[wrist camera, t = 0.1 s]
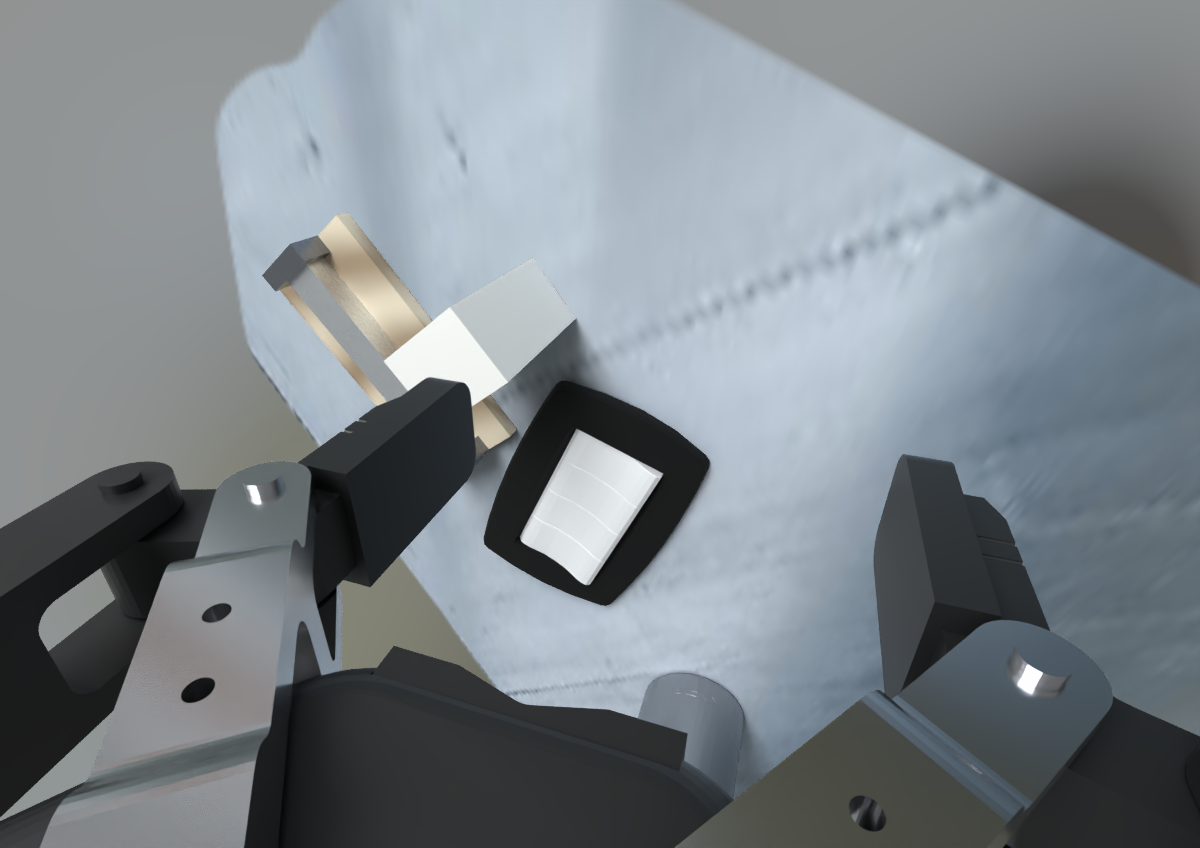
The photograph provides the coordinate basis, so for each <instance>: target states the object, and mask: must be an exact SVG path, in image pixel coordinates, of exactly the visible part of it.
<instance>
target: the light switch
mask: <svg viewBox="0 0 1200 848" xmlns="http://www.w3.org/2000/svg"><path fill="white" fill-rule="evenodd" d="M708 467H709V459H708V457H707V456H706V455H705V454H704V453H703V452H701V451H700V450H699V449H698V448H697V447H695V446H694V445H693V444H692V443H691V442H689V441H688V440H687V439H686V438H685V437H683V436H682V435H681V434H680V433H679V432H677V431H676V430H674V429H673V428H671V427H669V426H668V425H666V424H664V423H663V422H661V421H659V420H658V419H656V418H655V417H653V416H651V415H650V414H648V413H646V412H645V411H643V410H641V409H639V408H636V407H634V406H632V405H630V404H627V403H625V402H623V401H621V400H618V399H616V398H614V397H612V396H609V395H607V394H605V393H602V392H599V391H596V390H592V389H589V388H586V387H583V386H580V385H577V384H574V383H571V382H568V381H560V382H559V383H558V384H556V386H555V387H554V389H553V390H552V391H551V393H550V394H549V396H548V397H547V399H546V400H545V402H544V403H543V404H542V406H541V407H540V409H539V411H538V412H537V414H536V416H535V417H534V419H533V421H532V422H531V424H530V426H529V427H528V429H527V431H526V433H525V434H524V436H523V438H522V440H521V442H520V444H519V446H518V448H517V449H516V451H515V453H514V455H513V457H512V459H511V461H510V463H509V466H508V468H507V470H506V473H505V475H504V477H503V480H502V482H501V485H500V487H499V489H498V492H497V495H496V498H495V501H494V504H493V507H492V510H491V513H490V515H489V519H488V523H487V527H486V531H485V535H484V544H485V545H486V546H487V547H488V548H489V549H490V550H492V551H493V552H495V553H496V554H498V555H499V556H500V557H502V558H503V559H505V560H506V561H508V562H509V563H511V564H512V565H514V566H515V567H517V568H519V569H521V570H522V571H524V572H526V573H528V574H529V575H531V576H533V577H535V578H536V579H538V580H540V581H542V582H544V583H546V584H548V585H551V586H553V587H555V588H557V589H560V590H562V591H564V592H566V593H569V594H571V595H574V596H576V597H579V598H582V599H585V600H588V601H591V602H593V603H596V604H599V605H604V606H606V605H609V604H611V603H612V602H613V601H614V600H615V599H616V598H617V597H618V596H619V595H620V594H621V593H622V592H623V591H624V590H625V589H626V588H627V587H628V586H629V585H630V584H631V583H632V582H633V581H634V580H635V578H636V577H637V576H638V575H639V574H640V573H641V572H642V571H643V570H644V568H645V567H646V566H647V565H648V564H649V562H650V561H651V560H652V559H653V557H654V556H655V555H656V553H657V552H658V551H659V550H660V548H661V547H662V546H663V545H664V543H665V542H666V540H667V539H668V537H669V536H670V534H671V533H672V531H673V530H674V528H675V527H676V525H677V524H678V522H679V521H680V519H681V517H682V516H683V514H684V512H685V511H686V509H687V507H688V506H689V504H690V502H691V500H692V499H693V497H694V495H695V494H696V492H697V490H698V488H699V486H700V484H701V482H702V480H703V478H704V476H705V474H706V472H707V470H708Z"/></svg>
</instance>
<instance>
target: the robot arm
mask: <svg viewBox="0 0 1200 848" xmlns="http://www.w3.org/2000/svg"><path fill="white" fill-rule="evenodd" d="M475 458H476V446H475V436H474V425H473V414H472V403H471V394H470V390H469V388H468V386H467V385H466V384H465V383H463V382H457V381H451V380H445V379H439V378H433V377H428V378H426V379H424V380H423V381H421V382H420V383H418V384H417V385H416V386H414V387H413V388H412V389H410V390H409V391H408V392H406V393H405V394H404V395H402V396H401V397H398V398H395V399H393V400H390V401H388V402H385V403H383V404H380V405H378V406H376V407H375V408H373V409H372V410H370V411H369V412H368V413H366V414H365V415H363V416H362V417H361V418H359V422H358V421H355V422H354V423H352V424H351V425H350V426H348V427H347V428H345V431H344V432H340V433H338V434H337V435H336V436H334V437H333V438H331V439H330V440H329V441H327V442H326V443H325V444H323V445H322V446H320V447H319V448H318V449H316V450H315V451H313V452H312V453H311V454H309V455H308V456H306V457H305V458H304V459H302V460H301V461H300V462H298V463H296V462H290V461H274V462H267V463H261V464H257V465H254V466H251V467H248V468H245V469H243V470H240V471H238V472H236V473H235V474H233V475H231V476H230V477H228V478H227V479H225V480H224V481H223V482H222V483H221V484H220V485H219V487H218V488H217V489H215V490H214V489H212V490H211V489H209V490H208V489H207V490H180V488H179V485H178V483H177V480H176V477H175V474H174V472H173V470H172V468H171V467H170V466H168V465H166V464H163V463H159V462H136V463H129V464H125V465H121V466H117V467H113V468H110V469H108V470H105V471H102V472H100V473H98V474H95V475H93V476H91V477H90V478H88V479H86V480H84V481H82V482H81V483H79V484H77V485H75V486H74V487H72V488H70V489H68V490H67V491H65V492H63V493H62V494H60V495H58V496H56V497H55V498H53V499H51V500H49V501H48V502H46V503H44V504H43V505H41V506H39V507H37V508H35V509H34V510H32V511H30V512H28V513H27V514H25V515H23V516H22V517H20V518H18V519H16V520H15V521H13V522H11V523H9V524H8V525H6V526H4V527H2V528H1V529H0V817H1V816H2V815H3V814H4V813H5V812H6V811H7V810H8V809H10V808H11V807H12V806H13V805H14V804H15V803H16V802H17V801H18V800H19V799H20V798H21V797H22V796H23V795H24V794H25V793H26V792H28V790H30V789H31V788H32V787H33V786H34V785H35V784H36V783H37V782H38V781H39V780H40V779H41V778H42V777H43V776H44V775H45V774H46V773H48V772H49V771H50V770H51V769H52V768H53V767H54V766H55V765H56V764H57V763H58V762H59V761H60V760H61V759H63V758H64V757H65V756H66V755H67V754H68V753H69V752H70V751H71V750H72V749H73V748H74V747H75V746H76V745H77V744H78V743H79V742H81V741H82V740H83V739H84V737H86V736H87V735H88V734H89V733H90V732H91V731H92V730H93V729H94V728H95V727H96V726H97V725H99V723H101V722H102V721H103V720H104V719H105V718H106V717H107V716H108V715H109V714H110V713H111V712H112V711H113V710H114V711H113V714H112V716H111V719H110V722H109V725H108V727H107V730H106V733H105V736H104V738H103V741H102V744H101V747H100V749H99V752H98V755H97V757H96V760H95V763H94V766H93V768H92V771H91V773H90V775H89V777H88V779H87V780H86V781H85V782H84V783H81V784H80V785H77V786H75V787H73V788H71V789H69V790H66V791H64V792H62V793H60V794H58V795H56V796H54V797H51V798H49V799H47V800H45V801H43V802H40V803H38V804H36V805H34V806H32V807H30V808H28V809H26V810H23V811H21V812H19V813H17V814H15V815H13V816H10V817H8V818H6V819H4V820H2V821H0V848H1200V736H1197V735H1195V734H1193V733H1191V732H1188V731H1186V730H1184V729H1182V728H1179V727H1177V726H1175V725H1173V724H1170V723H1168V722H1166V721H1164V720H1161V719H1159V718H1157V717H1155V716H1152V715H1150V714H1148V713H1146V712H1143V711H1141V710H1139V709H1137V708H1134V707H1132V706H1130V705H1128V704H1126V703H1124V702H1122V701H1120V700H1118V699H1116V698H1115V697H1113V693H1112V688H1111V685H1110V683H1109V680H1108V679H1107V677H1106V676H1105V674H1104V672H1103V671H1102V670H1101V669H1100V667H1099V666H1098V665H1097V664H1096V663H1095V662H1094V661H1093V660H1092V659H1091V658H1090V657H1089V656H1088V655H1087V654H1086V653H1085V652H1083V651H1082V650H1081V649H1079V648H1078V647H1077V646H1075V645H1074V644H1072V643H1071V642H1069V641H1068V640H1066V639H1064V638H1062V637H1061V636H1059V635H1057V634H1055V633H1053V632H1051V631H1050V629H1049V627H1048V624H1047V622H1046V619H1045V617H1044V614H1043V611H1042V609H1041V606H1040V604H1039V601H1038V599H1037V596H1036V594H1035V591H1034V589H1033V586H1032V584H1031V581H1030V579H1029V576H1028V574H1027V571H1026V569H1025V566H1022V562H1023V561H1022V559H1021V556H1020V553H1019V551H1018V548H1017V547H1015V541H1014V538H1013V536H1012V533H1011V531H1010V528H1009V526H1008V523H1007V521H1006V519H1005V518H1004V517H1003V516H1002V515H1001V514H1000V513H999V512H998V511H997V510H996V509H995V508H994V507H993V506H992V505H990V504H989V503H988V502H987V501H986V500H985V499H984V498H981V497H975V496H970V495H964V494H963V492H962V489H961V485H960V482H959V479H958V476H957V473H956V470H955V467H954V464H953V463H952V462H948V461H942V460H936V459H930V458H924V457H918V456H911V455H905V454H903V455H902V456H901V457H900V459H899V461H898V464H897V467H896V470H895V473H894V476H893V480H892V483H891V487H890V490H889V493H888V497H887V500H886V503H885V507H884V510H883V514H882V517H881V520H880V524H879V527H878V531H877V535H876V541H875V548H874V574H875V586H876V597H877V609H878V620H879V632H880V643H881V654H882V666H883V677H884V689H885V693H883V692H882V691H880V690H875V691H872V692H870V693H868V694H867V695H865V696H864V697H862V698H861V699H860V700H858V701H857V702H856V703H855V704H853V705H852V706H851V707H850V708H848V709H847V710H846V711H845V712H843V713H842V714H841V715H840V716H838V717H837V718H836V719H835V720H833V721H832V722H831V723H830V724H828V725H827V726H826V727H825V728H823V729H822V730H821V731H820V732H818V733H817V734H816V735H815V736H813V737H812V738H811V739H810V740H808V741H807V742H806V743H805V744H803V745H802V746H801V747H800V748H798V749H797V750H796V751H795V752H793V753H792V754H791V755H790V756H788V757H787V758H786V759H785V760H783V761H782V762H781V763H780V764H778V765H777V766H776V767H775V768H773V769H772V770H771V771H770V772H768V773H767V774H766V775H765V776H763V777H762V778H761V779H760V780H758V781H757V782H756V783H755V784H753V785H752V786H751V787H750V788H748V789H747V790H746V791H745V792H743V793H742V794H741V795H740V796H738V797H737V798H736V799H735V800H734V799H733V796H734V789H735V781H736V774H737V767H738V761H739V754H740V746H741V739H742V732H743V724H744V717H743V712H742V709H741V707H740V705H739V704H738V702H737V701H736V699H735V698H734V697H733V696H732V695H731V694H730V693H729V692H728V691H727V690H725V689H724V688H723V687H721V686H720V685H718V684H716V683H714V682H712V681H710V680H708V679H705V678H703V677H700V676H696V675H691V674H681V673H676V674H668V675H664V676H661V677H659V678H657V679H655V680H654V681H653V682H652V683H651V684H650V685H649V686H648V688H647V690H646V693H645V696H644V700H643V703H642V706H641V709H640V713H639V716H638V718H635V717H631V716H628V715H624V714H621V713H618V712H614V711H611V710H606V709H588V708H570V707H553V706H535V705H526V704H522V703H519V702H517V701H515V700H514V699H512V698H511V697H509V696H507V695H506V694H504V693H503V692H501V691H499V690H498V689H496V688H495V687H493V686H491V685H490V684H488V683H487V682H485V681H483V680H482V679H480V678H479V677H477V676H475V675H474V674H472V673H471V672H469V671H467V670H465V669H464V668H463V667H461V666H459V665H456V664H453V663H450V662H446V661H443V660H439V659H436V658H433V657H429V656H426V655H423V654H419V653H416V652H413V651H409V650H406V649H402V648H399V647H396V646H393V648H392V649H391V650H390V652H389V653H388V654H387V656H386V657H385V658H384V659H383V661H382V662H381V663H380V665H379V666H378V667H377V668H363V669H351V670H344V671H342V668H341V667H342V666H341V665H342V664H341V663H342V597H341V593H340V589H339V583H341V581H342V580H346V581H350V582H353V583H357V584H361V585H364V586H368V587H371V586H372V585H373V584H374V583H375V581H376V580H377V579H378V578H379V577H380V576H381V575H382V574H383V573H384V571H385V570H386V569H387V568H388V567H389V566H390V565H391V564H392V563H393V562H394V560H395V559H396V558H397V557H398V556H399V555H400V554H401V553H402V552H403V551H404V549H405V548H406V547H407V546H408V545H409V544H410V543H411V542H412V541H413V540H414V538H415V537H416V536H417V535H418V534H419V533H420V532H421V531H422V530H423V529H424V527H425V526H426V525H427V524H428V523H429V522H430V521H431V520H432V519H433V517H434V516H435V515H436V514H437V513H438V512H439V511H440V510H441V509H442V508H443V506H444V505H445V504H446V503H447V502H448V501H449V500H450V499H451V498H452V497H453V495H454V494H455V493H456V492H457V491H458V490H459V489H460V488H461V487H462V485H463V484H464V483H465V482H466V481H467V480H468V478H469V477H470V475H471V473H472V470H473V467H474V464H475ZM100 568H101V571H102V572H103V575H104V577H105V579H106V581H107V583H108V585H109V587H110V589H111V591H112V593H113V595H114V597H115V600H114V601H113V602H112V603H110V604H109V605H107V606H106V607H105V608H104V609H102V610H101V611H100V612H98V613H97V614H96V615H95V616H93V617H92V618H91V619H89V620H88V621H87V622H86V623H85V624H83V625H82V626H81V627H79V628H78V629H77V630H75V631H74V632H73V633H71V634H70V635H69V636H68V637H67V638H65V639H64V640H63V641H61V642H60V643H59V644H57V645H56V646H55V647H54V648H52V649H51V650H50V651H47V649H46V647H45V646H44V644H43V642H42V640H41V639H40V636H39V632H38V629H39V628H38V627H39V623H40V620H41V617H42V615H43V614H44V612H45V611H46V609H47V608H48V607H49V606H50V605H51V604H52V603H53V602H54V601H55V600H56V599H58V598H59V597H60V596H62V595H63V594H65V593H66V592H68V591H69V590H70V589H72V588H73V587H75V586H76V585H77V584H79V583H80V582H81V581H83V580H84V579H85V578H87V577H89V576H90V575H91V574H93V573H94V572H95V571H97V570H98V569H100Z"/></svg>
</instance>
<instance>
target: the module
mask: <svg viewBox="0 0 1200 848" xmlns="http://www.w3.org/2000/svg"><path fill="white" fill-rule="evenodd" d="M575 319H576V317H575V316H574V315H573V313H572V312H571V310H570V309H569V308H568V306H567V305H566V303H565V302H564V301H563V299H562V298H561V296H560V295H559V294H558V292H557V291H556V290H555V288H554V287H553V285H552V284H551V283H550V281H549V280H548V278H547V277H546V276H545V274H544V273H543V271H542V270H541V269H540V267H539V266H538V265H537V263H536V262H535V260H534V259H533V258H531V259H529V260H528V261H526V262H524V263H523V264H521V265H519V266H518V267H516V268H514V269H513V270H511V271H509V272H508V273H506V274H504V275H503V276H501V277H499V278H498V279H496V280H494V281H493V282H491V283H489V284H488V285H486V286H484V287H483V288H481V289H479V290H478V291H476V292H474V293H473V294H471V295H469V296H468V297H466V298H464V299H463V300H461V301H459V302H458V303H456V304H454V305H453V306H451V307H450V308H448V309H447V310H446V311H445V312H443V313H442V314H441V315H440V316H438V317H437V318H436V319H435V320H434V321H432V322H431V323H430V324H429V325H427V326H426V327H425V328H424V329H422V330H421V331H420V332H419V333H418V334H416V335H415V336H414V337H413V338H411V339H410V340H409V341H408V342H406V343H405V344H404V345H403V346H402V347H400V348H399V349H398V350H397V351H395V352H394V353H393V354H392V355H390V356H389V357H388V358H387V359H385V360H384V362H385V364H386V365H387V366H388V367H389V368H390V370H391V371H392V372H393V373H394V375H395V376H396V377H397V378H398V379H399V381H400V382H401V383H402V384H403V386H404V387H405V388H406V389H407V391H409V390H410V389H412V388H413V387H414V386H416V385H417V384H418V383H420V382H421V381H423V380H424V379H426V378H428V377H433V378H439V379H445V380H451V381H457V382H463V383H465V384H466V385H467V386H468V388H469V390H470V394H471V403H472V406H473V405H475V404H476V403H478V402H479V401H481V400H482V399H484V398H485V397H487V396H488V395H490V394H491V393H493V392H494V391H496V390H497V389H499V388H500V387H502V386H503V385H505V384H506V383H508V382H509V381H510V380H511V379H512V378H513V377H514V376H515V375H516V374H517V373H519V372H520V371H521V370H522V369H523V368H524V367H525V366H526V365H527V364H528V363H529V362H530V361H531V360H532V359H533V358H534V357H536V356H537V355H538V354H539V353H540V352H541V351H542V350H543V349H544V348H545V347H546V346H547V345H548V344H549V343H550V342H552V341H553V340H554V339H555V338H556V337H557V336H558V335H559V334H560V333H561V332H562V331H563V330H564V329H565V328H566V327H567V326H569V325H570V324H571V323H572V322H573V321H574V320H575Z"/></svg>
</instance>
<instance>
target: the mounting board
mask: <svg viewBox="0 0 1200 848" xmlns="http://www.w3.org/2000/svg"><path fill="white" fill-rule="evenodd" d="M318 236H319V238H320V239H321V240H322V241H323V243H324V244H325V245H326V246H327V248H328V249H329V250H330V251H331V252H330V253H329V254H328V255H327V256H326V259H327V260H328V261H329V263H330V264H331V265H332V266H333V268H334V269H335V270H336V271H337V273H338V274H339V275H340V276H341V277H342V279H343V280H344V281H345V282H346V284H347V285H348V286H349V287H350V289H351V290H352V291H353V292H354V294H355V295H356V296H357V297H358V299H359V300H360V301H361V302H362V304H363V305H364V306H365V307H366V309H367V310H368V311H369V312H370V314H371V315H372V316H373V317H374V318H375V320H376V321H377V322H378V323H379V325H380V326H381V327H382V328H383V330H384V331H385V332H386V333H387V335H388V336H389V337H390V338H391V340H392V341H393V342H394V343H395V345H396V346H397V347H398V348H400V347H402V346H403V345H404V344H405V343H406V342H408V341H409V340H410V339H411V338H413V337H414V336H415V335H416V334H418V333H419V332H420V331H421V330H422V329H424V328H425V327H426V326H427V325H429V324H430V323H431V322H432V320H431V319H430V317H429V316H428V315H427V314H426V312H425V311H424V310H423V308H422V307H421V306H420V305H419V303H418V302H417V301H416V299H415V298H414V297H413V296H412V294H411V293H410V292H409V291H408V289H407V288H406V287H405V285H404V284H403V283H402V282H401V280H400V279H399V278H398V276H397V275H396V274H395V273H394V271H393V270H392V269H391V267H390V266H389V265H388V264H387V262H386V261H385V260H384V259H383V257H382V256H381V255H380V253H379V252H378V251H377V250H376V248H375V247H374V246H373V244H372V243H371V242H370V241H369V239H368V238H367V237H366V235H365V234H364V233H363V232H362V230H361V229H360V228H359V227H358V225H357V224H356V223H355V221H354V220H353V219H352V218H351V216H350V215H349V214H348V212H347V213H343V214H339V215H336V216H335V217H334V219H333V220H332V221H331V222H330V223H329V224H328V225H327V226H326V227H325V228H324V229H323V231H322V232H321V233H320V234H319V235H318ZM280 291H281V292H282V293H283V295H284V296H285V297H286V298H287V299H288V301H289V302H290V303H291V304H292V305H293V307H294V308H295V309H296V310H297V311H298V312H299V314H300V315H301V316H302V317H303V318H304V320H305V321H306V322H307V323H308V324H309V326H310V327H311V328H312V329H313V330H314V332H315V333H316V334H317V335H318V336H319V338H320V339H321V340H322V341H323V342H324V344H325V345H326V346H327V347H328V348H329V350H330V351H331V352H332V353H333V354H334V356H335V357H336V358H337V359H338V360H339V362H340V363H341V364H342V365H343V366H344V368H345V369H346V370H347V371H348V372H349V374H350V375H351V376H352V377H353V378H354V380H355V381H356V382H357V383H358V384H359V386H360V387H361V388H362V389H363V390H364V392H365V393H366V394H367V395H368V396H369V398H370V399H371V400H372V401H373V402H374V404H375V405H376V406H378V405H380V404H383V403H385V402H387V401H386V400H385V398H384V397H383V396H382V395H381V394H380V392H379V391H378V390H377V389H376V388H375V386H374V385H373V384H372V383H371V382H370V380H369V379H368V378H367V377H366V376H365V374H364V373H363V372H362V371H361V369H360V368H359V367H358V366H357V365H356V363H355V362H354V361H353V360H352V359H351V357H350V356H349V355H348V354H347V353H346V351H345V350H344V349H343V348H342V347H341V345H340V344H339V343H338V342H337V341H336V339H335V338H334V337H333V336H332V334H331V333H330V332H329V331H328V330H327V328H326V327H325V326H324V325H323V324H322V322H321V321H320V320H319V319H318V318H317V316H316V315H315V314H314V313H313V312H312V310H311V309H310V308H309V307H308V306H307V304H306V303H305V302H304V301H303V299H302V298H301V297H300V296H299V295H298V293H297V292H296V291H295V290H294V289H293V287H292V286H289V287H286V288H284V289H281V290H280ZM472 414H473V425H474V436H475V437H477V436H479V437H480V439H481V440H482V441H483V442H484V444H485V445H486V446H487V447H488V449H490V448H492V447H494V446H495V445H497V444H499V443H500V442H502V441H504V440H505V439H507V438H509V437H510V436H511V435H512V434H513V433H514V432H515V431H516V430H517V429H516V428H515V426H514V425H513V424H512V422H511V421H510V420H509V419H508V417H507V416H506V415H505V413H504V412H503V411H502V410H501V408H500V407H499V406H498V404H497V403H496V402H495V401H494V399H493V398H492V397H491V396H490V395H488V396H487V397H485V398H484V399H482V400H481V401H479V402H478V403H476V404H475V405H473V406H472Z"/></svg>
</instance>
